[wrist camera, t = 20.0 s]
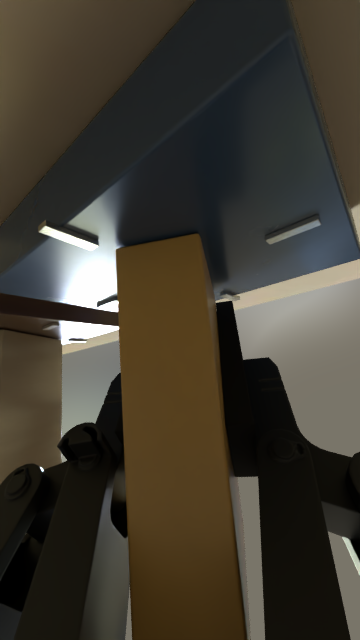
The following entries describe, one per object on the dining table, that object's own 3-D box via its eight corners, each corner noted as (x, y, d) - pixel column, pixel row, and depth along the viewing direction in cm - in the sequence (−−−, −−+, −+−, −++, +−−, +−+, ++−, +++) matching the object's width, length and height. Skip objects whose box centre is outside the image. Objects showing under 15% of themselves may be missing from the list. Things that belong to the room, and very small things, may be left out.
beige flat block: (-32, 334, 16) (-47, 518, 14) (3, 328, 15) (-7, 518, 13) (35, 343, 21) (31, 477, 19) (62, 340, 21) (61, 476, 19)
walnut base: (53, 328, 26) (53, 350, 25) (-87, 317, 18) (-91, 348, 18) (127, 300, 19) (128, 330, 19) (-46, 264, 12) (-51, 311, 11)
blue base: (156, 289, 17) (159, 321, 17) (-25, 237, 10) (-30, 293, 9) (352, 215, 11) (365, 264, 10) (255, -124, 3) (286, 7, 3)
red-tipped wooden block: (113, 247, 7) (132, 694, 5) (199, 231, 7) (256, 708, 5) (164, 299, 13) (183, 532, 11) (214, 292, 12) (244, 532, 10)
